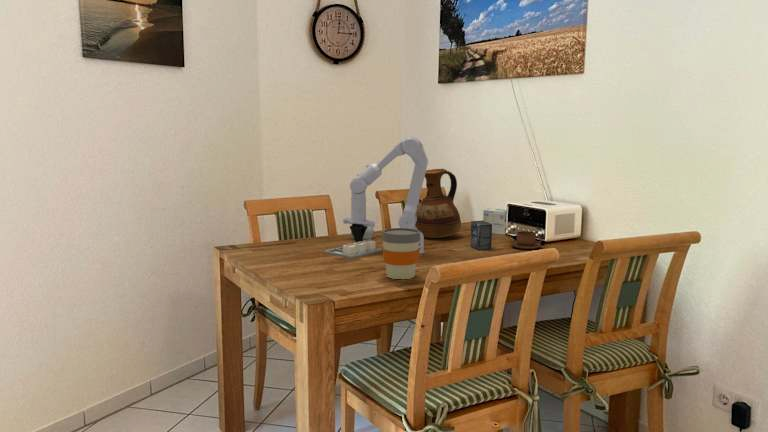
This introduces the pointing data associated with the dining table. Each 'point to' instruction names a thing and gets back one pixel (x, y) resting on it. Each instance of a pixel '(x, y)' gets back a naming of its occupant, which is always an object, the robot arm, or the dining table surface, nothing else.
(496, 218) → the light bulb box
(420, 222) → the ceramic pitcher
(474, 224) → the box
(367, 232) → the ceramic mug
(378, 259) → the dining table surface
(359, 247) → the tab middle
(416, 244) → the reusable coffee cup
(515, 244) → the cup and saucer
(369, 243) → the white small block
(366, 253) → the grey flat tray
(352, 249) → the tab
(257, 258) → the dining table surface
